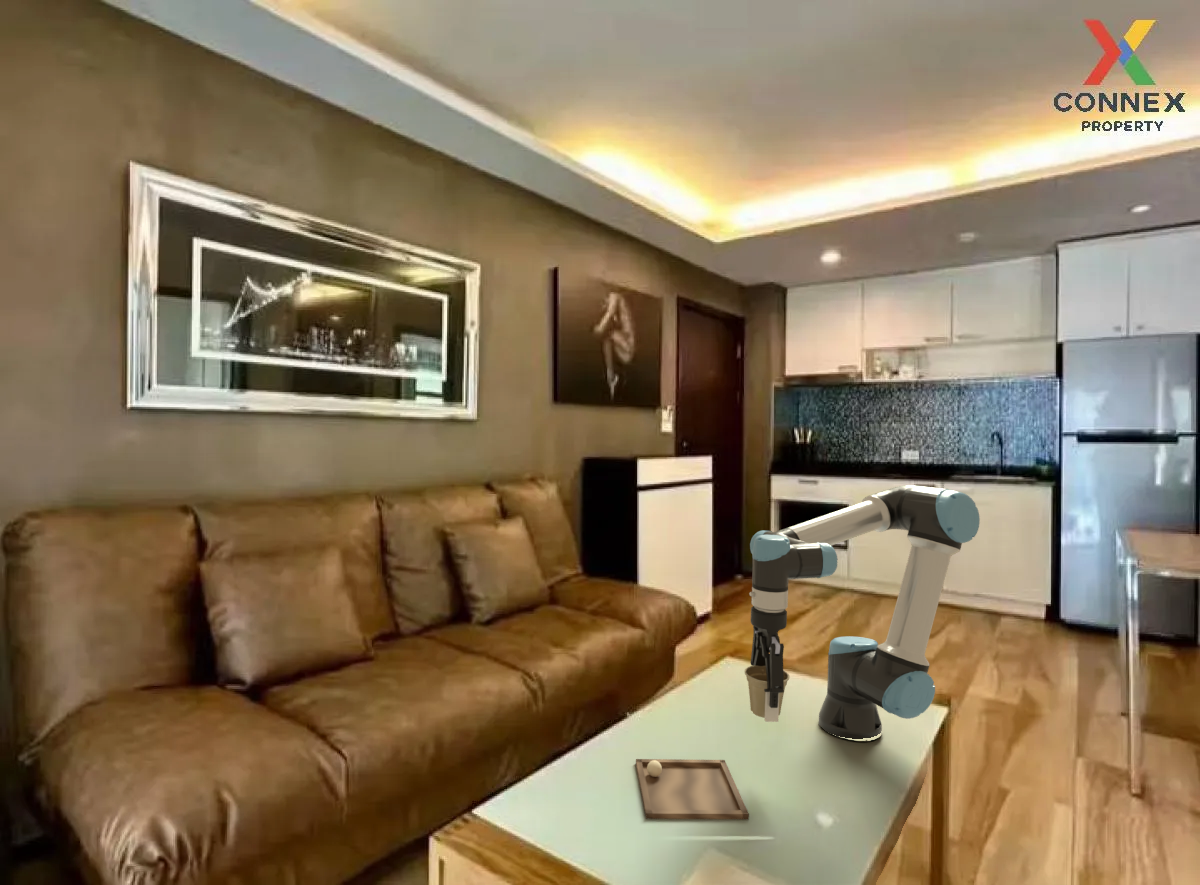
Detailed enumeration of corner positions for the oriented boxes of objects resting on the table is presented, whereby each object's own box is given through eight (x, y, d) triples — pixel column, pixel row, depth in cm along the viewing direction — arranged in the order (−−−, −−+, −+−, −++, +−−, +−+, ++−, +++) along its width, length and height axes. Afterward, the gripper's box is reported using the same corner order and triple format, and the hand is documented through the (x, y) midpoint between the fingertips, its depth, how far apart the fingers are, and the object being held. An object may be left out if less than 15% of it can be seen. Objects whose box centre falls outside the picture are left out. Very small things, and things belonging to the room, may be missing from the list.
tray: (724, 766, 146) (724, 759, 146) (748, 821, 126) (748, 814, 126) (635, 765, 145) (635, 759, 145) (646, 821, 125) (646, 813, 125)
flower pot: (789, 725, 136) (791, 684, 135) (743, 719, 137) (745, 679, 137) (786, 705, 145) (787, 667, 144) (742, 701, 147) (744, 663, 146)
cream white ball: (660, 771, 142) (661, 757, 142) (662, 780, 139) (663, 765, 139) (645, 771, 142) (646, 757, 142) (647, 779, 139) (648, 765, 139)
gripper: (739, 593, 151) (735, 690, 151) (766, 622, 129) (762, 734, 130) (771, 594, 151) (767, 690, 152) (803, 623, 130) (799, 735, 131)
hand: (764, 710), depth 141 cm, fingers closed on flower pot, 8 cm apart
